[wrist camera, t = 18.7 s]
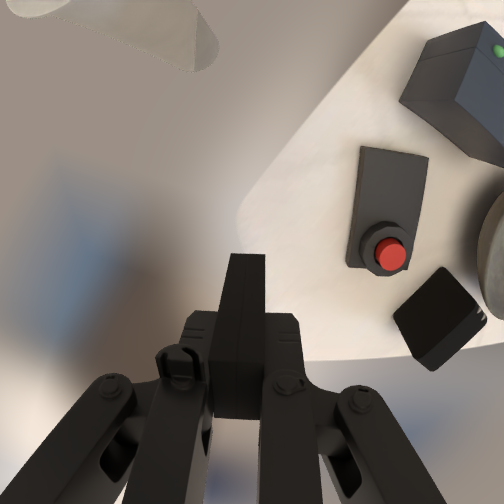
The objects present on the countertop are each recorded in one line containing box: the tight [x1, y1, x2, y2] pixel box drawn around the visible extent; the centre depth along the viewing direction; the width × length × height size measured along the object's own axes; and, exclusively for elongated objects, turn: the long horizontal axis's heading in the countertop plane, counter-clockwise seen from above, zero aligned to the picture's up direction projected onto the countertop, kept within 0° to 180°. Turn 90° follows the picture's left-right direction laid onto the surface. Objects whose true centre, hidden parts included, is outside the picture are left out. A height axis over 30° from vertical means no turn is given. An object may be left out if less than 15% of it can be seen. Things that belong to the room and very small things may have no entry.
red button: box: [375, 238, 406, 271], centre depth 33 cm, size 3×3×2 cm
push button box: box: [346, 146, 429, 276], centre depth 33 cm, size 14×8×4 cm, turn 178°
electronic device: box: [393, 267, 487, 371], centre depth 35 cm, size 4×10×10 cm, turn 141°
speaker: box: [399, 21, 504, 168], centre depth 23 cm, size 10×12×13 cm
